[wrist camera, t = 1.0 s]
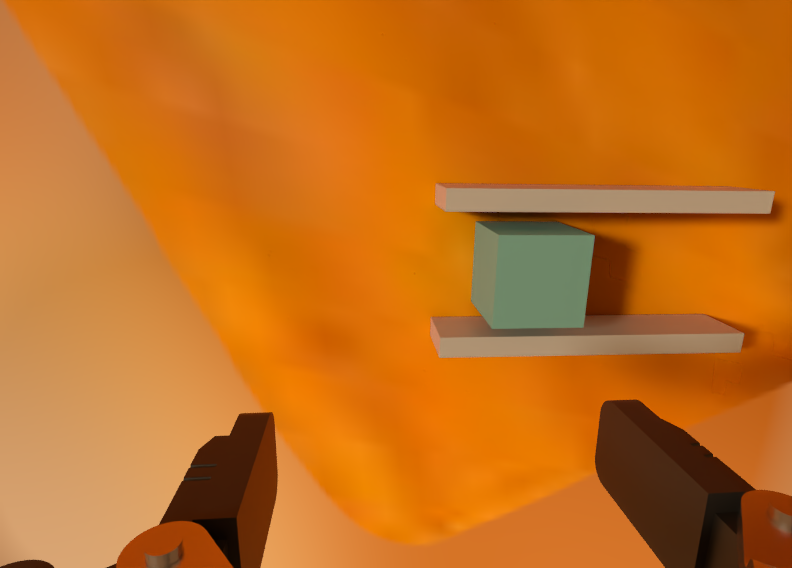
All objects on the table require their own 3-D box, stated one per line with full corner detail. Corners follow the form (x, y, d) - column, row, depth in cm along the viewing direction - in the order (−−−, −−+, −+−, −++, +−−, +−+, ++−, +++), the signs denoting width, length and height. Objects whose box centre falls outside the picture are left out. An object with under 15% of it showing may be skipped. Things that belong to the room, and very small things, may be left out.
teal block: (475, 221, 30) (498, 235, 25) (556, 221, 30) (594, 235, 25) (470, 300, 31) (492, 328, 26) (548, 300, 31) (583, 327, 27)
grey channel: (435, 183, 29) (446, 188, 25) (728, 186, 30) (775, 191, 27) (430, 335, 31) (439, 357, 28) (700, 331, 33) (740, 352, 29)
